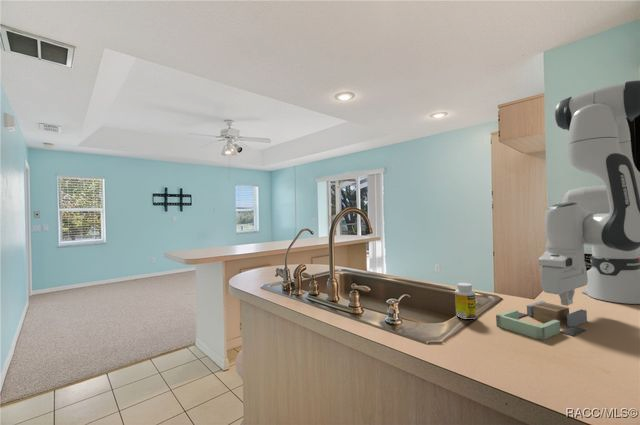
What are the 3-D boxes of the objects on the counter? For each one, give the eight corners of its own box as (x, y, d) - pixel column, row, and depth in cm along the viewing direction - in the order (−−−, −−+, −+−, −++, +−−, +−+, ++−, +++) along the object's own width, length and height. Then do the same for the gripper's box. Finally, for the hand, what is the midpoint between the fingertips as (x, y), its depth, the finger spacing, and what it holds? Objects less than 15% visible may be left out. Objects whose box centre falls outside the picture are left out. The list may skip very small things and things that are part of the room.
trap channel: (531, 308, 96) (531, 298, 96) (599, 324, 81) (599, 313, 81) (487, 322, 86) (486, 312, 86) (555, 344, 70) (554, 331, 70)
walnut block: (546, 315, 89) (545, 302, 89) (569, 321, 84) (568, 307, 84) (533, 319, 87) (533, 305, 87) (557, 326, 82) (556, 311, 82)
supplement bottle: (469, 322, 87) (468, 287, 87) (452, 317, 91) (450, 284, 91) (480, 318, 90) (478, 284, 90) (462, 313, 94) (460, 281, 94)
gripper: (568, 253, 96) (570, 296, 96) (535, 259, 86) (537, 307, 86) (593, 255, 90) (595, 301, 90) (561, 262, 80) (563, 313, 80)
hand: (566, 304), depth 88 cm, fingers closed
